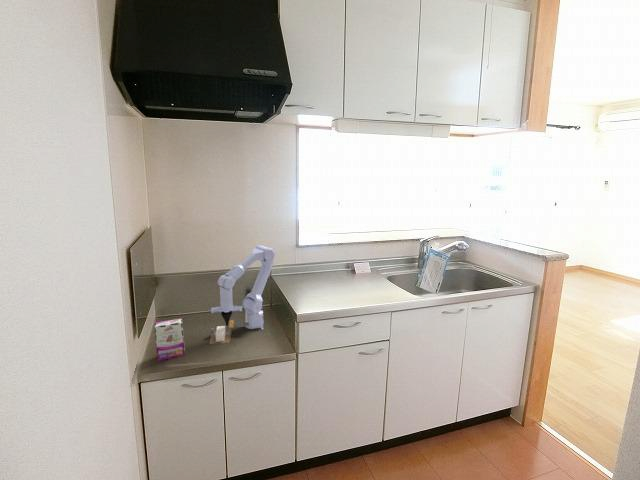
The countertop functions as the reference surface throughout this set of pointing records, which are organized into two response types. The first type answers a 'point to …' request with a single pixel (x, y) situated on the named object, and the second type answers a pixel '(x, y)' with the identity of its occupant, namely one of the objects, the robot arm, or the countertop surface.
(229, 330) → the brown stand with pegs
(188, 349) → the countertop surface
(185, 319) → the countertop surface
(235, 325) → the gray and orange bar
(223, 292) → the robot arm
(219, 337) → the white block
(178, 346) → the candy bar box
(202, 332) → the countertop surface
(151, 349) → the countertop surface
